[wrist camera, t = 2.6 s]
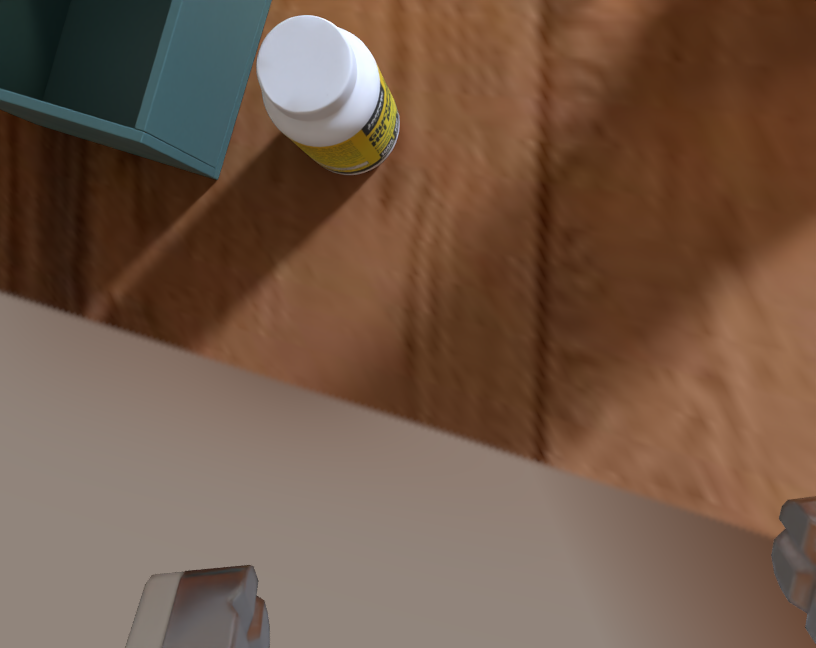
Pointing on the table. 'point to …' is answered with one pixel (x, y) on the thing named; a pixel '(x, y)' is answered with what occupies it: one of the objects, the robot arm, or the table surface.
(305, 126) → the pill bottle
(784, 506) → the robot arm
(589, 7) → the table surface
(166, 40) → the trash bin
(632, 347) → the table surface
